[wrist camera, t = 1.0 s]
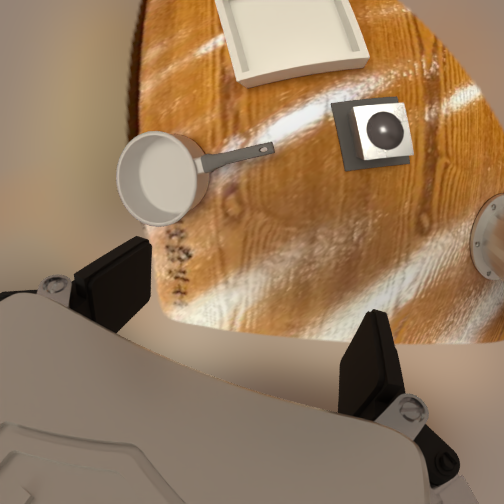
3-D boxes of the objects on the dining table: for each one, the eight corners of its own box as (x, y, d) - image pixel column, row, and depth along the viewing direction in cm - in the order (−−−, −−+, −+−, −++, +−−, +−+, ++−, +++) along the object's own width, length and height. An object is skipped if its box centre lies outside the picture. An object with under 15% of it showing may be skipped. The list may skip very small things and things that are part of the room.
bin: (329, -21, 20) (329, -39, 16) (363, 67, 25) (369, 57, 21) (223, 1, 24) (211, -13, 20) (247, 88, 29) (236, 81, 25)
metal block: (388, 109, 26) (404, 102, 20) (396, 151, 27) (414, 155, 21) (346, 114, 27) (353, 106, 21) (355, 156, 29) (364, 160, 23)
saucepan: (290, 193, 33) (285, 203, 28) (153, 221, 39) (130, 234, 34) (269, 101, 29) (259, 93, 24) (132, 146, 35) (107, 149, 30)
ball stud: (395, 97, 25) (405, 92, 22) (408, 163, 28) (419, 166, 24) (330, 104, 28) (332, 98, 24) (344, 170, 30) (348, 174, 27)
